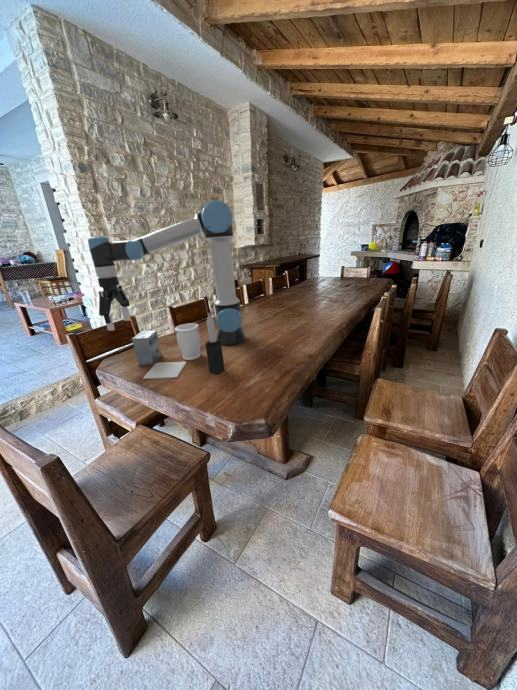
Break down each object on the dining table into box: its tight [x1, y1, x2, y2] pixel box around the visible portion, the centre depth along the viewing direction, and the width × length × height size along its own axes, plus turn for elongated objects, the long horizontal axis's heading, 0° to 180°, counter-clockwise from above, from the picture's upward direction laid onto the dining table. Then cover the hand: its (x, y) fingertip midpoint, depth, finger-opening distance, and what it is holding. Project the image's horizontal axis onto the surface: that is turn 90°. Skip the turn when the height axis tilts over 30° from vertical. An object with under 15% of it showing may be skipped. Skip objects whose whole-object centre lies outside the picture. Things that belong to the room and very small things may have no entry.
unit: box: [131, 329, 163, 367], centre depth 127 cm, size 8×10×13 cm
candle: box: [204, 312, 225, 375], centre depth 110 cm, size 5×5×25 cm
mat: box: [142, 361, 188, 380], centre depth 118 cm, size 14×14×1 cm
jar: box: [174, 322, 202, 361], centre depth 127 cm, size 11×10×15 cm
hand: (119, 325), depth 123 cm, fingers open, 13 cm apart
